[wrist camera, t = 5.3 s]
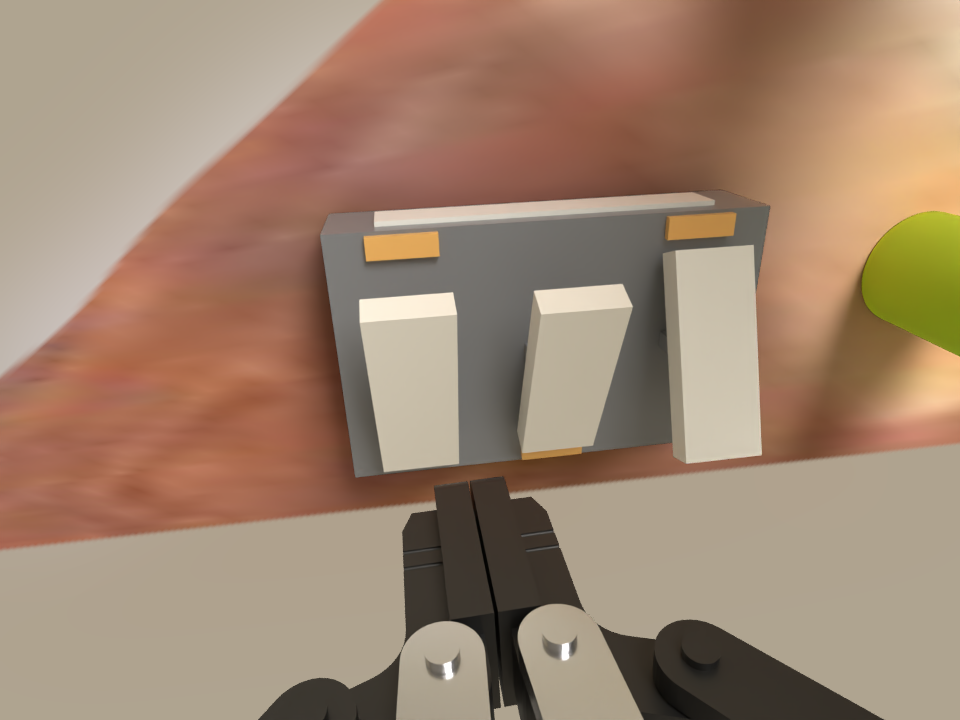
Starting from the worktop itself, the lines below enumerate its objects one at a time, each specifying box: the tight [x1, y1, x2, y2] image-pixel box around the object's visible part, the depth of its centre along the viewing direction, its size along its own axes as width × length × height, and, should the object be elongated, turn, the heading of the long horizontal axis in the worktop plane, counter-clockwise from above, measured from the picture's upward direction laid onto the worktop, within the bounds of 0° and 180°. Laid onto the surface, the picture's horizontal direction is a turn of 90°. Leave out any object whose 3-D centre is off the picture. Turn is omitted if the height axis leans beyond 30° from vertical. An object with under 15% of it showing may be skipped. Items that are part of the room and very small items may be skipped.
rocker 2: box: [517, 284, 633, 453], centre depth 24 cm, size 3×8×1 cm, turn 2°
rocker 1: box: [359, 292, 459, 472], centre depth 23 cm, size 3×8×1 cm, turn 2°
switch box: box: [320, 190, 770, 477], centre depth 27 cm, size 18×11×5 cm, turn 92°
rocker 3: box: [663, 245, 762, 464], centre depth 25 cm, size 3×8×1 cm, turn 2°
